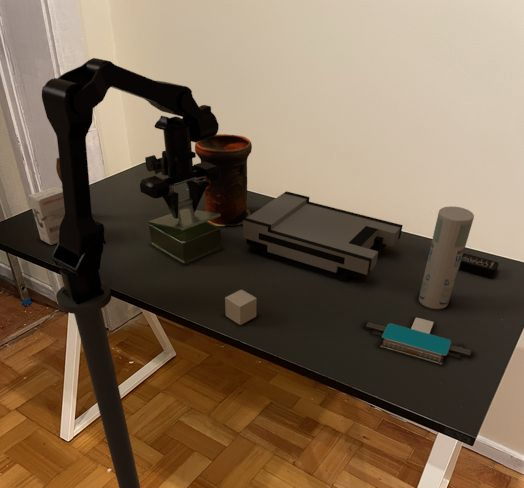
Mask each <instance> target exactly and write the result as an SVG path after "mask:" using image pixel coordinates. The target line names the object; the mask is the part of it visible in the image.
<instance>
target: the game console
mask: <svg viewBox="0 0 524 488" xmlns="http://www.w3.org/2000/svg"><path fill="white" fill-rule="evenodd" d="M249 215H250V216H249V217H247V218H246V219H244V220H243V224H242V238H243V239H245V240H246V241H245V242H246V243H245V244H246V245H249V246H251V247H252V253H253V254H256V255H259V256H262V257H265V258H269V259H272V260H275V261H278V262H282V263H285V264H289V265H292V266H295V267H298V268H301V269H304V270H307V271H311V272H314V273H316V274H321V275H324V276H327V277H329V278H333V279H336V280H340V281H343V282H347V281H348V280H349V279H350V277H353V278H358V277H359V276H361V274H363V275H365V276H368V275H369V274H370V273H371V272H372V270H373V269H374V268H375V267H376V266H377V261H378V255H379V254H380V253H381V252H382V251H383V250H384V249H385V247H386V246H390V247H393V246H395V244H396V243H397V242H398V241H399V240H400V239H401V235H402V231H403V224H400V223H396V222H392V221H388V220H384V219H380V218H377V217H372V216H368V215H364V214H360V213H356V212H352V211H348V210H344V209H340V208H336V207H332V206H328V205H325V204H320V203H317V202H312V201H310V196H307V195H303V194H299V193H295V192H290V191H287V190H286V191H284V192H283V193H282V194H280V195H278V196H277V197H275V198H274V199H272V200H271V201H270V202H268V203H266V204H265V205H263V206H262V207H260V208H259V209H258V210H256V211H255V212H253V213H251V214H249Z"/></svg>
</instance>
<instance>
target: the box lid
mask: <svg viewBox="0 0 524 488" xmlns="http://www.w3.org/2000/svg"><path fill="white" fill-rule="evenodd" d="M193 203H194V201H193V199H192V198H191V197H190V198H189V197H187V198H185V199H181V200H178V217H177V219H175V218H174V217H173V216H172V213H171V212H170V213H168V214H166V215H162V216H160V217H157V218H155V219H151V220H148V225H149V224H152V225H157V226H162V227H167V228H171V229H176V230H181V231H183V230H186V229H188V228H191V227H193V226H196V225H199V224H201V223H204V222H207V221H209V220H212V219H214V218H217V217H220V216H221V215H220V214H219V213H212V212H206V210H198V209H196V211H195V212H194V209H193ZM187 207H188V208H187Z"/></svg>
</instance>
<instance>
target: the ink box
mask: <svg viewBox="0 0 524 488" xmlns="http://www.w3.org/2000/svg"><path fill="white" fill-rule="evenodd" d="M28 199H29V203H30V207H31V209H32V210H31V211H32V213H33V217H34V221H35V224H36V228H37V231H38V234H39V239H40V240H41V241H43V242H45V243H46V244H48V245H50V246H53V245H56V244H58V242H59V227H60V224H61V222H62V220H63V218H64V216H65V208H64V198H63V189H62V185H57V186H54V187H50V188H47V189H44V190H41V191H37V192H35V193H31V194H29V195H28Z"/></svg>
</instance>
